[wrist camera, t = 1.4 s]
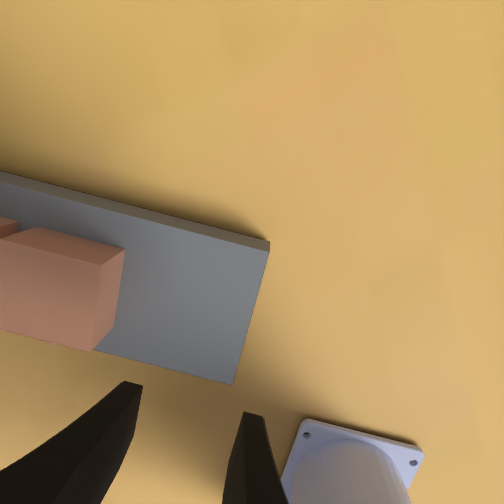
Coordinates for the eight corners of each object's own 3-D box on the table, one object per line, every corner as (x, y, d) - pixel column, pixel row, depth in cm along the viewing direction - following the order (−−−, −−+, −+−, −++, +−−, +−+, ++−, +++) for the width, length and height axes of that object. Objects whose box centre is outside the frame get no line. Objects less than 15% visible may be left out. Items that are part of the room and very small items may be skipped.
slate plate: (235, 364, 21) (232, 385, 19) (-53, 289, 21) (-85, 303, 19) (270, 241, 19) (269, 252, 17) (-54, 156, 19) (-92, 157, 17)
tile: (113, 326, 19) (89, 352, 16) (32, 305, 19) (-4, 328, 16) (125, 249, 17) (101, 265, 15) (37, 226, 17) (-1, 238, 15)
